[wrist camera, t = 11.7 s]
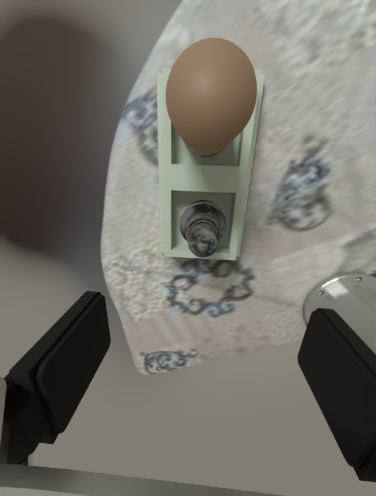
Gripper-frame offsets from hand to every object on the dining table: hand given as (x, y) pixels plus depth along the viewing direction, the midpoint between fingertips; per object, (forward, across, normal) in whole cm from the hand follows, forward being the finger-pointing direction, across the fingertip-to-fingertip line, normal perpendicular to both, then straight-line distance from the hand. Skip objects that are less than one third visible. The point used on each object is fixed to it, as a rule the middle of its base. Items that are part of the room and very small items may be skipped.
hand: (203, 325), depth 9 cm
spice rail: (+22, 0, -6) cm, 23 cm away
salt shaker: (+21, 0, 0) cm, 21 cm away
